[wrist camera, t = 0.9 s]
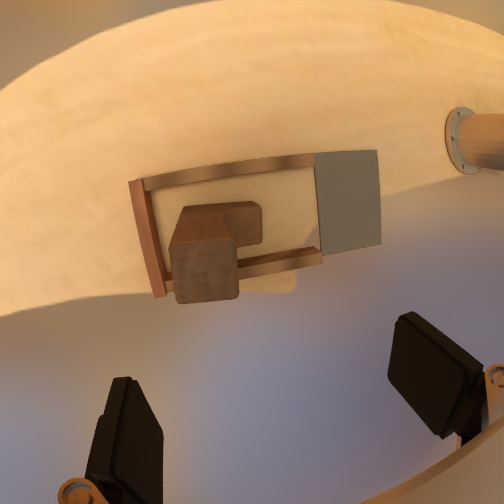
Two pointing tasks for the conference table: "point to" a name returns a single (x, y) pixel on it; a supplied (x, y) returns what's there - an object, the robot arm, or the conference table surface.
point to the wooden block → (211, 249)
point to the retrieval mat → (347, 200)
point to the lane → (142, 187)
